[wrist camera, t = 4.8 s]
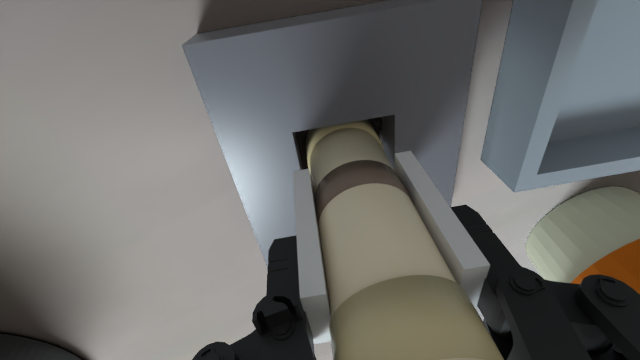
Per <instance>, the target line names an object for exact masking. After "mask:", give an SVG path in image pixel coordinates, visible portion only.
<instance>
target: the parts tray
mask: <svg viewBox="0 0 640 360" xmlns="http://www.w3.org/2000/svg"><path fill="white" fill-rule="evenodd" d="M481 161H482V162H483V163H484V164H486V165H487V166H488V167H489V168H490V169H491V170H492V171H493V172H494V173H495V174H496V175H497V176H498V177H499V178H500V179H501V180H502V181H503V182H504V183H505V184H506V185H507V186H508V187H509V188H510V189H511V190H512V191H513V192H519V191H525V190H531V189H536V188H542V187H548V186H553V185H559V184H565V183H570V182H576V181H582V180H587V179H593V178H599V177H604V176H610V175H616V174H621V173H627V172H633V171H638V170H640V0H514V1H513V5H512V10H511V15H510V20H509V25H508V30H507V35H506V39H505V44H504V49H503V54H502V59H501V64H500V68H499V73H498V78H497V83H496V88H495V93H494V98H493V102H492V107H491V112H490V117H489V122H488V127H487V132H486V136H485V141H484V146H483V151H482V156H481Z"/></svg>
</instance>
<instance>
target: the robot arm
mask: <svg viewBox="0 0 640 360" xmlns="http://www.w3.org/2000/svg"><path fill="white" fill-rule="evenodd" d="M395 171H396V172H397V174H398V175H399V177H400V178H401V180H402V182H403V184H404V186H405V187H406V189H407V191H408V193H409V195H410V196H411V198H412V200H413V202H414V205H415V208H416V210H417V212H418V213H419V215H420V217H421V219H422V221H423V223H424V224H425V226H426V228H427V230H428V232H429V233H430V235H431V237H432V239H433V241H434V242H435V244H436V246H437V248H438V250H439V252H440V253H441V255H442V257H443V259H444V261H445V262H446V264H447V266H448V268H449V270H450V271H451V273H452V275H453V277H454V279H455V280H456V282H457V284H459V285H460V286H461V287H462V288H463V289H464V290H465V291H466V293H467V295H468V296H469V298H470V300H471V302H472V304H473V305H474V307H475V309H476V311H477V307H478V308H479V309H480V311H481V313H482V315H483V316H484V321H483V323H484V325H485V327H486V328H487V330H488V332H489V334H490V335H491V337H492V339H493V341H494V342H495V344H496V346H497V348H498V350H499V351H500V353H501V355H502V357H503V358H504V360H640V294H639V293H637V292H636V291H635V290H634V289H633V288H631V287H630V286H628V285H627V284H625V283H624V282H622V281H620V280H618V279H615V278H613V277H610V276H605V275H601V274H597V275H589V276H587V277H585V278H583V280H582V282H581V283H580V284H574V283H565V282H555V281H549V280H544V279H543V278H542V277H541V276H540V275H538V274H537V273H535V272H534V271H531V270H529V269H526V268H523V267H521V266H520V265H519V264H518V262H517V261H516V260H515V259H514V257H513V256H512V255H511V254H510V252H509V251H508V250H507V249H506V247H505V246H504V245H503V244H502V242H501V241H500V240H499V238H498V237H497V236H496V235H495V233H493V232H492V230H491V228H490V227H489V226H488V225H486V222H485V221H484V220H483V218H482V217H481V216H480V215H479V213H478V212H476V211H475V210H473V209H472V208H470V207H469V206H467V205H461V206H456V207H450V206H449V205H448V203H447V202H446V201H445V199H444V198H443V196H442V195H441V193H440V192H439V190H438V189H437V188H436V186H435V185H434V183H433V182H432V180H431V179H430V178H429V176H428V175H427V173H426V172H425V170H424V169H423V168H422V166H421V165H420V163H419V162H418V160H417V159H416V157H415V156H414V155H413V153H412V152H411V151H406V152H400V153H395ZM293 182H294V201H295V219H296V236H290V237H284V238H279V239H274V241H273V243H272V245H271V246H270V248H269V252H268V274H267V295H266V296H265V297H264V298H263V299H262V300H261V301H260V302H259V303H258V304H257V305H256V307H255V310H254V312H253V319H252V322H253V324H254V326H255V328H256V330H254V331H253V332H252V333H251V334H249V335H248V336H246V337H244V338H242V339H240V340H239V341H237V342H235V343H233V344H231V345H228V344H226V343H225V342H214V343H211V344H208V345H207V346H205V347H204V348H202V349H201V350H200V351H199V352H198V353H197V354H196V355H195V357H194V358H193V359H192V360H316V357H315V354H314V345H313V342H314V344H318V343H324V342H329V341H331V339H330V331H329V324H330V320H331V313H330V306H329V299H328V292H327V285H326V278H325V270H324V263H323V256H322V249H321V242H320V235H319V228H318V223H317V216H316V209H315V202H314V192H313V186H312V181H311V176H310V171H309V169H304V170H298V171H293ZM0 360H81V359H80V358H78V357H77V356H75V355H73V354H71V353H70V352H67V351H65V350H63V349H61V348H58V347H56V346H53V345H50V344H47V343H44V342H40V341H37V340H33V339H28V338H24V337H19V336H13V335H7V334H0Z"/></svg>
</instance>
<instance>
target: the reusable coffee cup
mask: <svg viewBox="0 0 640 360" xmlns="http://www.w3.org/2000/svg"><path fill="white" fill-rule="evenodd" d="M526 252H527V255H528V257H529V258H530V260H531V261H532V263H533V265H534V266H535V268H536V269H537V271H538V272H539V274H540V275H541V277H542V278H543V279H544V280H549V281H555V282H565V283H574V284H580V283H581V282H582V280H583V278H585V277H587V276H589V275H597V274H601V275H605V276H610V277H613V278H615V279H618V280H620V281H622V282H624V283H625V284H627V285H628V286H630V287H631V288H633V289H634V290H635V291H636V292H637V293H639V294H640V194H639V193H637V192H634V191H632V190H630V189H627V188H624V187H616V186H611V187H602V188H598V189H594V190H590V191H587V192H585V193H582V194H579V195H577V196H575V197H573V198H571V199H569V200H567V201H565V202H564V203H562V204H560V205H559V206H557V207H556V208H554V209H553V210H552V211H550V212H549V213H548V214H547V215H545V216H544V217H543V218H542V219H541V220H540V221H539V222H538V223H537V225H536V226H535V227H534V228H533V230H532V231H531V233H530V235H529V237H528V239H527V243H526Z"/></svg>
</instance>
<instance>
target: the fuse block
mask: <svg viewBox="0 0 640 360" xmlns="http://www.w3.org/2000/svg"><path fill="white" fill-rule="evenodd" d="M481 6H482V0H387V1H381V2H375V3H370V4H364V5H358V6H353V7H347V8H341V9H335V10H330V11H324V12H318V13H313V14H307V15H301V16H296V17H290V18H284V19H278V20H273V21H267V22H261V23H256V24H250V25H244V26H239V27H233V28H227V29H221V30H216V31H210V32H204V33H199V34H196V35H194V36H193V37H192V38H191V39H189V40H188V41H187V42H186V43H184V44H183V45H182V47H183V50H184V52H185V55H186V58H187V60H188V63H189V65H190V68H191V71H192V73H193V76H194V78H195V81H196V84H197V86H198V89H199V91H200V94H201V97H202V99H203V102H204V104H205V107H206V110H207V112H208V115H209V117H210V120H211V123H212V125H213V128H214V130H215V133H216V135H217V138H218V141H219V143H220V146H221V148H222V151H223V154H224V156H225V159H226V161H227V164H228V167H229V169H230V172H231V174H232V177H233V180H234V182H235V185H236V187H237V190H238V193H239V195H240V198H241V200H242V203H243V205H244V208H245V211H246V213H247V216H248V218H249V221H250V224H251V226H252V229H253V231H254V234H255V237H256V239H257V242H258V244H259V247H260V250H261V252H262V255H263V257H264V260H265V263H266V265H267V268H268V252H269V248H270V246H271V245H272V243H273V241H274V239H279V238H284V237H290V236H296V219H295V201H294V182H293V171H298V170H303V167H302V162H301V157H300V153H299V148H298V143H297V138H296V134H295V132H298V131H304V130H309V129H315V128H321V127H326V126H332V125H338V124H343V123H349V122H355V121H360V120H366V119H372V118H377V117H382V145H383V148H384V152H385V154H386V156H387V157H388V159H389V161H390V163H391V165H392V166H393V168H394V170H395V153H400V152H406V151H411V152H412V153H413V155H414V156H415V157H416V159H417V160H418V162H419V163H420V165H421V166H422V168H423V169H424V170H425V172H426V173H427V175H428V176H429V178H430V179H431V180H432V182H433V183H434V185H435V186H436V188H437V189H438V190H439V192H440V193H441V195H442V196H443V198H444V199H445V201H446V202H447V203H448V205H449V206H450V207H451V202H452V195H453V189H454V182H455V176H456V169H457V163H458V156H459V150H460V143H461V137H462V130H463V124H464V117H465V111H466V104H467V97H468V91H469V84H470V78H471V71H472V65H473V58H474V52H475V45H476V39H477V32H478V26H479V19H480V13H481ZM312 186H313V185H312Z"/></svg>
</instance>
